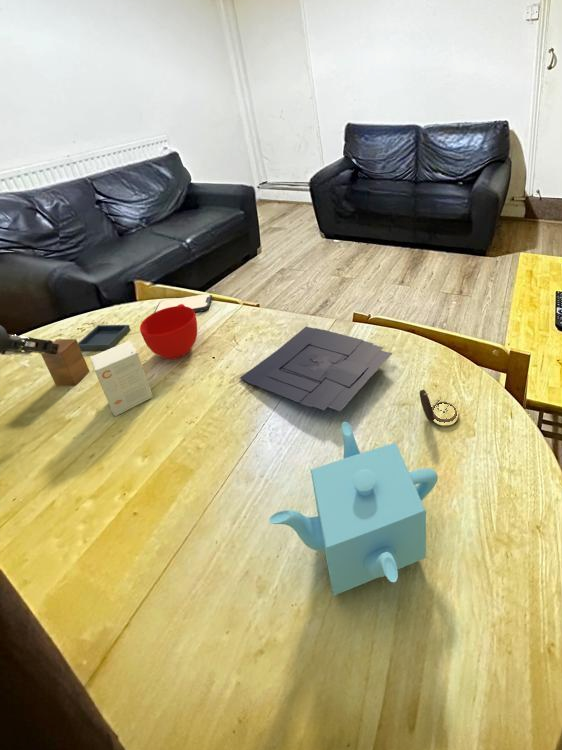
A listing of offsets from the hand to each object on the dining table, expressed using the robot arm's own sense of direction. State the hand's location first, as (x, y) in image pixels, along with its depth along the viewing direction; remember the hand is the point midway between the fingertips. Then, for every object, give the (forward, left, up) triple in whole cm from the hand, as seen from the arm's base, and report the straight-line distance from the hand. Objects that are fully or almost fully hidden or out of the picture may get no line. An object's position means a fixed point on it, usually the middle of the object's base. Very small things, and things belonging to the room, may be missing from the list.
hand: (38, 349), depth 92 cm
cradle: (-2, +20, -13) cm, 23 cm away
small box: (+19, -2, -13) cm, 23 cm away
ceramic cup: (+21, +17, -13) cm, 30 cm away
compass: (+89, -6, -13) cm, 90 cm away
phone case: (+13, +36, -13) cm, 40 cm away
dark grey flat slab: (+61, +7, -13) cm, 63 cm away
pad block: (0, +5, -13) cm, 13 cm away
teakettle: (+75, -32, -13) cm, 83 cm away
